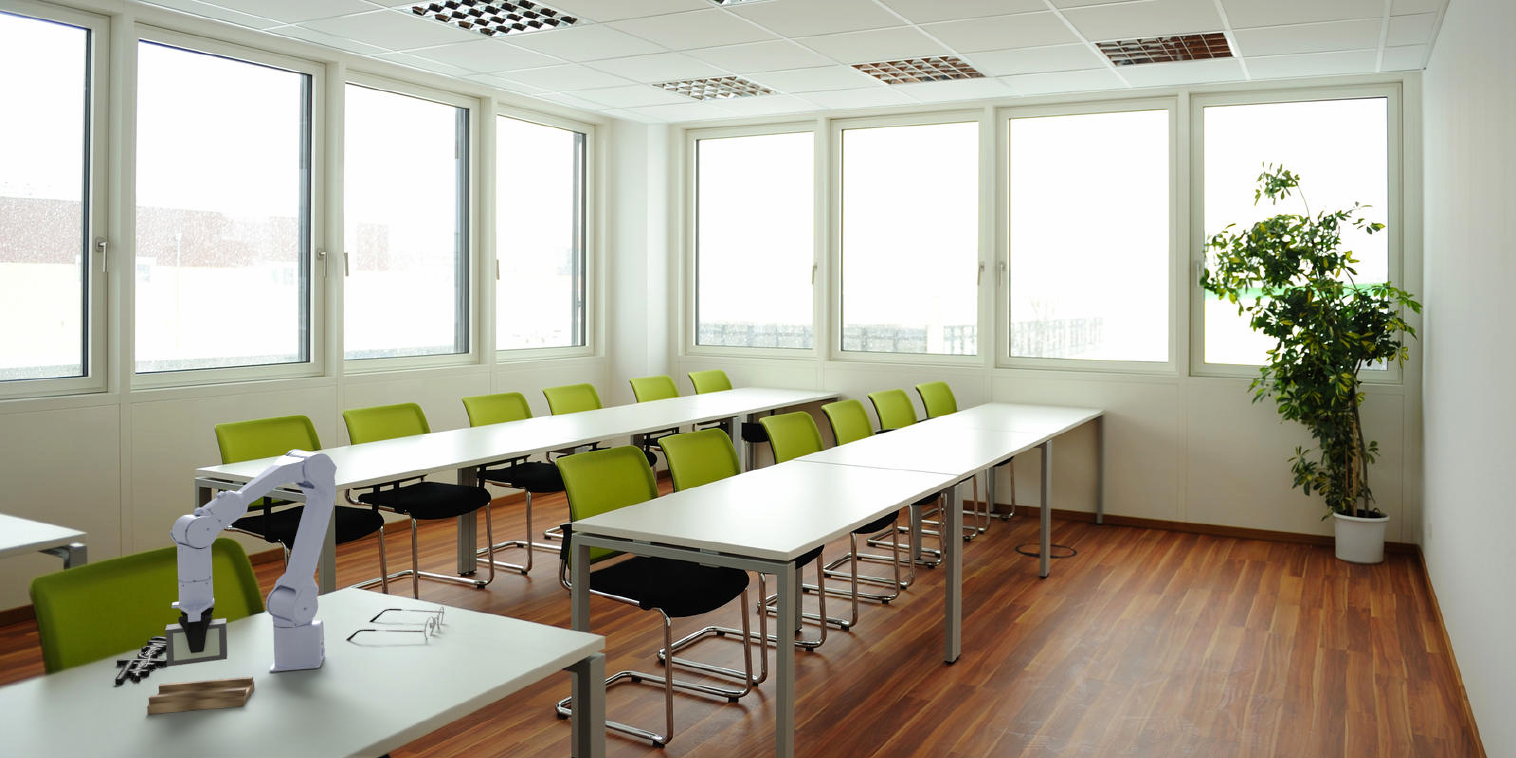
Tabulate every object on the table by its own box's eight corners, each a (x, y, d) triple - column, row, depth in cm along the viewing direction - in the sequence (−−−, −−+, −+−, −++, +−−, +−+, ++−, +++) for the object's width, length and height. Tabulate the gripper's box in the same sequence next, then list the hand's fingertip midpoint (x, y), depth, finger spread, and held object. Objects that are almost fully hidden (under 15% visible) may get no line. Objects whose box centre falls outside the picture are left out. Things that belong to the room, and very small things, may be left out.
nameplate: (133, 638, 226) (184, 633, 230) (133, 645, 227) (185, 640, 230) (101, 681, 201) (159, 675, 204) (101, 688, 201) (160, 682, 204)
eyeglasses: (427, 644, 228) (427, 622, 227) (343, 644, 228) (342, 621, 228) (450, 622, 244) (450, 601, 243) (371, 621, 244) (371, 601, 244)
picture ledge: (254, 688, 200) (254, 674, 200) (244, 705, 192) (243, 691, 191) (162, 696, 196) (161, 682, 196) (147, 714, 187) (146, 699, 187)
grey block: (227, 653, 201) (226, 618, 201) (226, 659, 198) (225, 623, 197) (168, 660, 197) (167, 624, 196) (166, 666, 193) (165, 630, 193)
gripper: (174, 571, 201) (176, 640, 202) (168, 590, 188) (170, 663, 189) (215, 568, 204) (217, 635, 205) (211, 585, 191) (214, 658, 192)
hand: (197, 648), depth 197 cm, fingers closed on grey block, 4 cm apart
